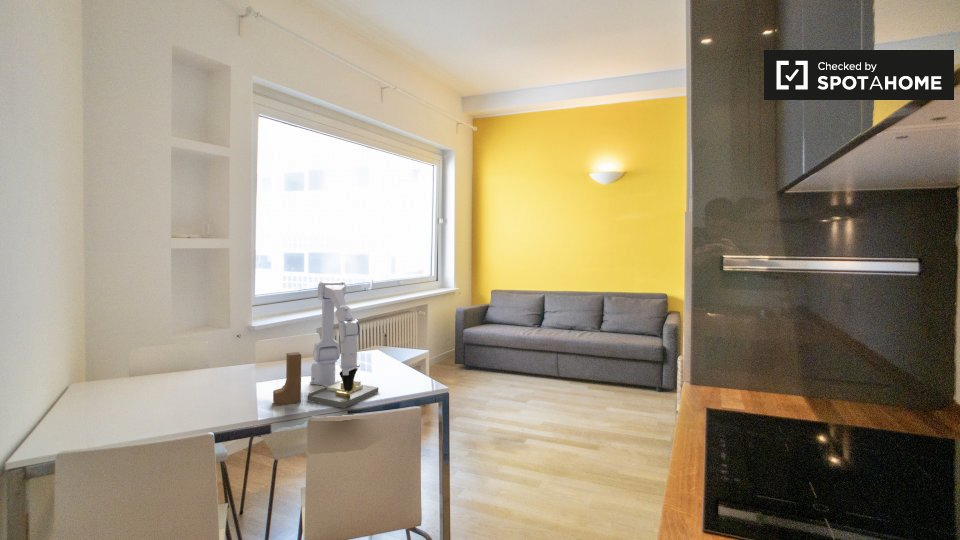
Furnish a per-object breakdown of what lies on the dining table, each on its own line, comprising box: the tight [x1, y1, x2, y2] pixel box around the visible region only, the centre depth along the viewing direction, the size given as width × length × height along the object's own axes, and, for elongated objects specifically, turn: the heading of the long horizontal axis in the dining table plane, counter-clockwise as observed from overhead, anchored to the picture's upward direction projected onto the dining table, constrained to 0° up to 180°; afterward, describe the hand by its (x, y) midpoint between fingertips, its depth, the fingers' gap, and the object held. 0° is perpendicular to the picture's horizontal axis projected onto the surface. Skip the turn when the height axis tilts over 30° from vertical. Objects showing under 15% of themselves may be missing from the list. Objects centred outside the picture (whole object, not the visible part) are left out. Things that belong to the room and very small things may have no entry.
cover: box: [327, 379, 364, 393], centre depth 196 cm, size 10×9×2 cm
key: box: [335, 382, 356, 398], centre depth 187 cm, size 8×1×5 cm, turn 67°
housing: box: [306, 379, 379, 409], centre depth 193 cm, size 17×21×3 cm
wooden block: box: [272, 351, 302, 406], centre depth 184 cm, size 9×4×18 cm, turn 121°
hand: (348, 389), depth 186 cm, fingers closed on key, 2 cm apart
